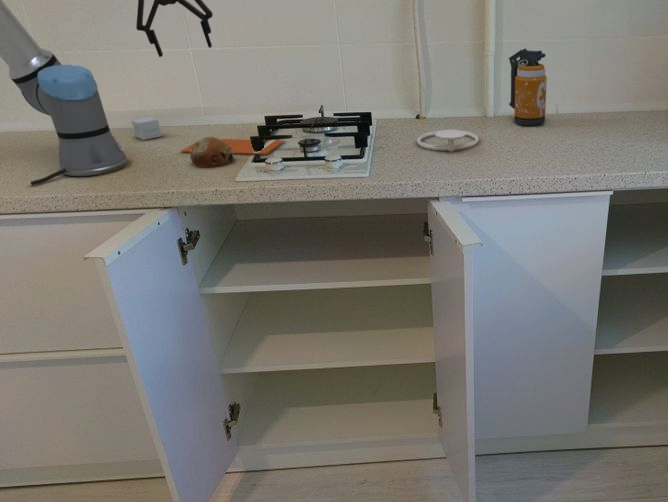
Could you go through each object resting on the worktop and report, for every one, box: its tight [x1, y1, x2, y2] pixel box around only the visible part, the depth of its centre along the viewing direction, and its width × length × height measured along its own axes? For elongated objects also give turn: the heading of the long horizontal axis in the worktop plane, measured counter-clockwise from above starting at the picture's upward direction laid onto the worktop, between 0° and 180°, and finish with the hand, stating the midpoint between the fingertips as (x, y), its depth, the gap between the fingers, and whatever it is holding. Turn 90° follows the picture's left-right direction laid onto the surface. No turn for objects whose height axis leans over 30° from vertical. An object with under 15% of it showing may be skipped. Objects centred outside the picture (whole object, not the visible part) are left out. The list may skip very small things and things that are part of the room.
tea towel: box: [181, 138, 285, 156], centre depth 182 cm, size 12×24×1 cm, turn 81°
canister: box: [508, 48, 548, 127], centre depth 192 cm, size 9×11×20 cm
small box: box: [131, 116, 163, 141], centre depth 192 cm, size 6×6×5 cm
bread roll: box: [189, 136, 235, 169], centre depth 170 cm, size 10×10×8 cm
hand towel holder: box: [416, 129, 480, 153], centre depth 179 cm, size 17×4×20 cm
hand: (185, 51), depth 187 cm, fingers open, 13 cm apart
